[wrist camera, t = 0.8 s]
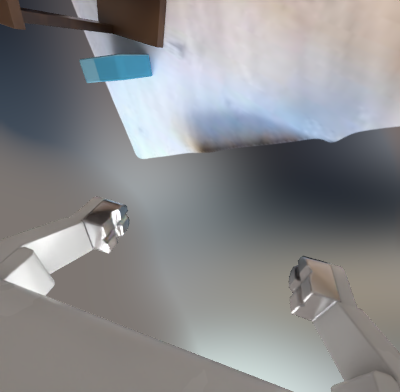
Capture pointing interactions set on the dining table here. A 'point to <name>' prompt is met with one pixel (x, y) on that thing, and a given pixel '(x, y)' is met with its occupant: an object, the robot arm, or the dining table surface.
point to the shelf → (107, 15)
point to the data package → (116, 67)
